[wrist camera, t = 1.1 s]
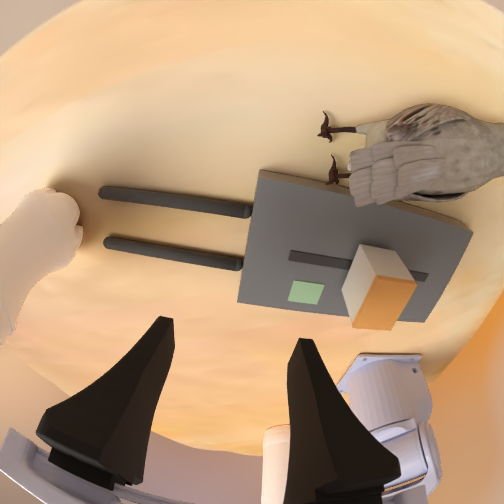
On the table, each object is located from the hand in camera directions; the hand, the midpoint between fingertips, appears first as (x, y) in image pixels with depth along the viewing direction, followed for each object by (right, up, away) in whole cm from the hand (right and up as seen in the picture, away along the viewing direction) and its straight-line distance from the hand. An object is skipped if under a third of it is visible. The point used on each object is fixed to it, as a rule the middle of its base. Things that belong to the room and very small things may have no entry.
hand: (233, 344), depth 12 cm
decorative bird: (+13, +12, +4) cm, 19 cm away
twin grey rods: (-5, +6, +9) cm, 12 cm away
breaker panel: (+9, +4, +9) cm, 14 cm away
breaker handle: (+9, +3, +7) cm, 12 cm away
